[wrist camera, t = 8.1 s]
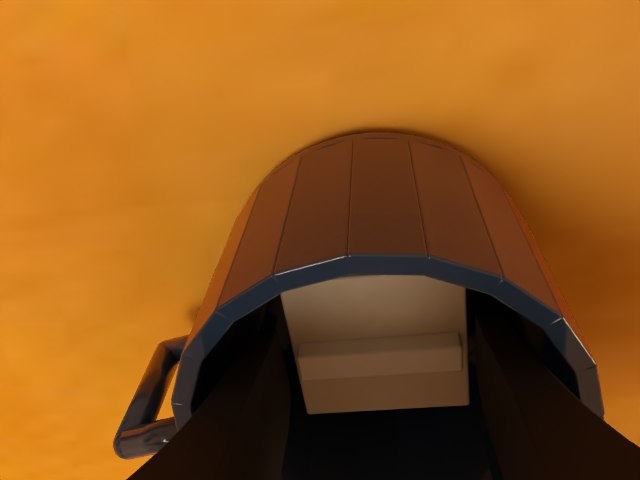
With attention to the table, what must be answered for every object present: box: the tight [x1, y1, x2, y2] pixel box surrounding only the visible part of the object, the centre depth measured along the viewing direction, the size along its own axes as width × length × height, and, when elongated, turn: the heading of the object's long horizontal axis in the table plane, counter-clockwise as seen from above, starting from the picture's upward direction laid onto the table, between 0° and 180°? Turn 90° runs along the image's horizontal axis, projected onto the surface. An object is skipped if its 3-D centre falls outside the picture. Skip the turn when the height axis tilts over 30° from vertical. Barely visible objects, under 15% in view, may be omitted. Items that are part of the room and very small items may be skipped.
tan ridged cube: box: [280, 275, 470, 414], centre depth 16 cm, size 4×4×4 cm
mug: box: [113, 132, 605, 480], centre depth 15 cm, size 12×9×6 cm
